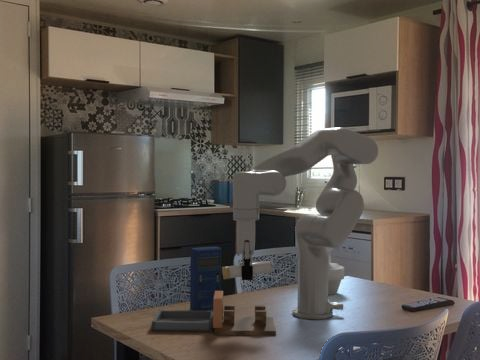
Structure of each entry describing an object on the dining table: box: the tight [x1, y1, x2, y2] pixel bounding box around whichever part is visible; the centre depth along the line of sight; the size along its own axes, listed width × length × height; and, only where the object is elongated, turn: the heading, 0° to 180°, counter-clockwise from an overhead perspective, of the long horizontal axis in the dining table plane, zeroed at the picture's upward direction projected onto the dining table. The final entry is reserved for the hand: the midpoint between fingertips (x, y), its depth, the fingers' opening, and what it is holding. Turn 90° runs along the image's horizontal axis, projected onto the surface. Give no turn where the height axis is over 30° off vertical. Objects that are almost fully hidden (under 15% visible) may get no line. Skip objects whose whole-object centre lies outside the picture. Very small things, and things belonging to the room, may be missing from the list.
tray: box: [151, 309, 214, 333], centre depth 158 cm, size 17×13×3 cm
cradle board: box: [213, 304, 277, 336], centre depth 156 cm, size 17×14×6 cm
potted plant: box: [325, 247, 345, 296], centre depth 202 cm, size 13×12×25 cm
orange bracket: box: [212, 290, 224, 329], centre depth 156 cm, size 2×10×8 cm, turn 0°
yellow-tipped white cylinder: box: [221, 260, 273, 280], centre depth 156 cm, size 14×4×4 cm, turn 91°
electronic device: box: [189, 245, 222, 311], centre depth 176 cm, size 10×5×20 cm, turn 121°
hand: (247, 277), depth 157 cm, fingers closed on yellow-tipped white cylinder, 3 cm apart
